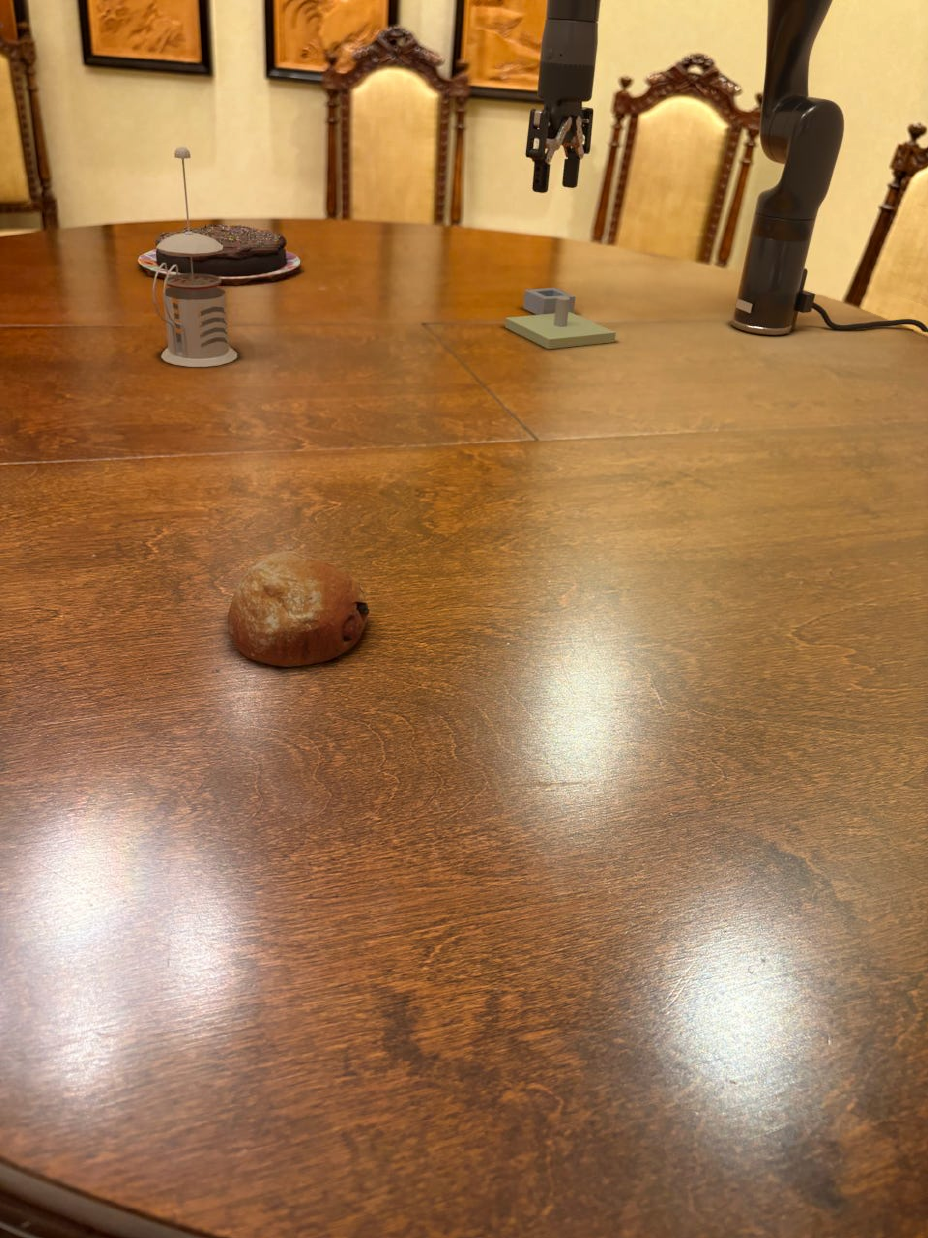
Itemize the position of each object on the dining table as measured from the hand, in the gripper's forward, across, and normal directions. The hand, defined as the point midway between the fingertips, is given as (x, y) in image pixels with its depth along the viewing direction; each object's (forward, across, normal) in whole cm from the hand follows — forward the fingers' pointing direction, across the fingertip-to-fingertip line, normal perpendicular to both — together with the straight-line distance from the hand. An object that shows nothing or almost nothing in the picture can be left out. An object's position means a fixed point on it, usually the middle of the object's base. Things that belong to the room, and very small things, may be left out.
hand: (555, 189), depth 140 cm
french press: (+20, -47, +25) cm, 57 cm away
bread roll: (+20, -88, -31) cm, 95 cm away
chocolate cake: (+20, -9, +61) cm, 65 cm away
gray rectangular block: (+20, +9, +4) cm, 22 cm away
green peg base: (+20, -1, -4) cm, 20 cm away
